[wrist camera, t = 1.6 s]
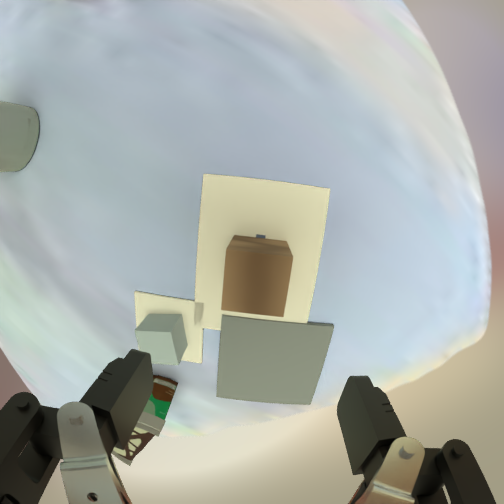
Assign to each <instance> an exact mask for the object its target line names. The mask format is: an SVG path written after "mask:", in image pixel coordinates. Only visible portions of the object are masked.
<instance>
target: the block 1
mask: <svg viewBox="0 0 504 504" xmlns="http://www.w3.org/2000/svg"><path fill="white" fill-rule="evenodd" d="M135 334H136V338H137V341H138V345H139V348H140V351H143V352H147V353H150V355H151V363H153V364H166V365H179V363H180V361H181V359H182V357H183V354H184V352H185V350H186V348H187V346H188V344H187V339H186V334H185V329H184V323H183V318H182V314H148V315H147V316H146V317H145V319H144V320H143V321H142V322H141V323H140V325H139V326H138V327H137V328H136V329H135Z"/></svg>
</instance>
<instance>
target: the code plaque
mask: <svg viewBox="0 0 504 504" xmlns="http://www.w3.org/2000/svg"><path fill="white" fill-rule="evenodd" d="M329 195H330V189H328V188H322V187H315V186H309V185H302V184H295V183H287V182H280V181H272V180H264V179H255V178H245V177H235V176H225V175H213V174H204V175H203V185H202V196H201V207H200V218H199V231H198V246H197V262H196V281H195V302H196V303H197V304H199V305H197V304H196V303H195V304H196V305H197V306H196V305H195V307H196V308H195V307H194V311H195V312H197V313H196V314H197V315H195V316H194V327H200V328H207V329H214V330H221V320H222V314H223V315H231V316H239V317H247V318H256V319H265V320H274V321H284V322H295V323H307V321H308V317H309V312H310V307H311V302H312V298H313V293H314V287H315V282H316V277H317V272H318V266H319V260H320V255H321V249H322V243H323V237H324V230H325V224H326V217H327V210H328V203H329ZM234 235H240V236H249V237H257V238H266V239H274V240H282V241H287V243H288V245H289V248H290V250H291V253H292V255H293V263H292V269H291V275H290V282H289V288H288V294H287V300H286V305H285V311H284V317H276V316H266V315H257V314H249V313H240V312H232V311H225V310H221V304H222V291H223V279H224V267H225V256H226V248H227V247H228V245H229V243H230V241H231V240H232V238H233V236H234ZM202 303H204V304H202ZM200 304H201V305H200ZM203 305H204V306H203ZM198 306H199V307H198ZM197 307H198V308H197ZM200 307H202V309H204V310H199V309H200ZM203 307H204V308H203ZM196 309H197V311H196ZM198 310H199V312H201V311H204V312H202V314H201V313H200V314H201V315H202V316H203V317H202V316H201V315H200V314H199V312H198ZM194 314H195V313H194ZM200 316H201V317H200ZM196 317H197V318H196ZM198 317H199V318H198ZM195 318H196V319H197V320H198V321H196V319H195ZM201 318H202V319H201ZM200 319H201V320H200ZM199 320H200V321H199ZM195 321H196V322H197V323H196V322H195ZM201 323H202V324H201ZM195 324H196V325H195ZM198 325H200V326H198ZM201 325H203V326H201Z"/></svg>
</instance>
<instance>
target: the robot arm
mask: <svg viewBox="0 0 504 504" xmlns="http://www.w3.org/2000/svg"><path fill="white" fill-rule="evenodd" d="M38 135H39V119H38V115H37V113H36V111H35V110H34V109H33V108H31V107H27V106H22V105H18V104H13V103H8V102H3V101H0V172H13V171H19V170H21V169H22V168H24V167H25V166H26V164H27V163H28V162H29V160H30V159H31V157H32V155H33V152H34V150H35V147H36V144H37V140H38ZM153 383H154V381H153V372H152V363H151V355H150V353H147V352H143V351H139V350H135V349H131V350H130V351H129V353H128V354H127V355H126V357H125V358H124V359H122V358H117V359H115V360H114V361H112V362H110V363H109V364H108V365H107V366H106V368H105V369H104V370H103V373H101V374H100V375H99V376H98V379H96V380H95V382H94V383H93V384H92V386H91V387H90V388H89V389H88V391H87V392H86V393H85V395H84V396H83V397H82V399H81V400H80V401H79V402H69V403H66V404H64V405H63V406H62V407H61V408H60V409H58V408H52V407H47V406H42V405H40V403H39V401H38V399H37V398H36V396H34V395H33V394H31V393H28V392H21V393H17V394H15V395H14V396H13V397H11V398H10V400H9V401H8V402H7V403H6V404H5V405H4V407H3V408H2V409H1V410H0V504H38V502H39V500H40V498H41V496H42V494H43V492H44V490H45V488H46V486H47V484H48V482H49V480H50V478H51V476H52V474H53V472H54V470H55V468H56V466H57V465H58V463H59V461H60V459H63V460H64V462H61V463H60V470H61V475H62V479H63V483H64V487H65V491H66V495H67V498H68V502H69V504H132V502H131V500H130V498H129V497H128V495H127V493H126V490H125V488H124V486H123V483H122V481H121V479H120V476H119V474H118V471H117V469H116V466H115V463H114V461H113V458H112V456H111V453H112V451H113V449H114V447H115V448H118V449H121V450H124V449H125V447H126V445H127V443H128V441H129V439H130V437H131V434H132V432H133V430H134V428H135V426H136V424H137V422H138V420H139V418H140V416H141V414H142V412H143V410H144V408H145V406H146V404H147V402H148V400H149V398H150V396H151V394H152V390H153ZM337 416H338V419H339V423H340V427H341V430H342V434H343V438H344V442H345V445H346V449H347V453H348V457H349V460H350V465H351V469H352V473H353V475H357V474H363V475H364V480H363V481H362V482H361V484H360V486H359V487H358V489H357V490H356V492H355V494H354V495H353V497H352V499H351V500H350V502H349V503H348V504H448V502H447V499H446V496H445V493H444V491H443V488H442V487H443V486H444V485H445V486H446V489H447V492H448V495H449V497H450V500H451V504H496V502H495V500H494V497H493V495H492V493H491V491H490V488H489V486H488V484H487V482H486V480H485V477H484V475H483V473H482V471H481V469H480V467H479V465H478V463H477V461H476V459H475V457H474V455H473V453H472V452H471V450H470V448H469V446H468V445H467V444H466V443H465V442H463V441H461V440H458V439H453V440H449V441H447V442H446V443H445V445H444V446H443V447H442V448H441V449H439V448H424V447H423V445H422V444H421V443H420V442H419V441H417V440H416V439H414V438H411V437H407V436H406V434H405V432H404V430H403V428H402V425H401V423H400V421H399V419H398V417H397V415H396V413H395V412H394V409H393V407H392V405H390V401H389V399H388V397H387V395H386V394H385V393H384V392H383V391H382V390H381V389H380V388H378V387H374V386H373V384H372V382H371V380H370V378H369V377H368V376H350V377H349V378H348V380H347V382H346V385H345V387H344V390H343V392H342V395H341V397H340V400H339V402H338V406H337ZM28 441H29V442H28ZM26 444H27V445H26ZM24 447H25V448H24ZM22 450H23V451H22ZM21 452H22V453H21ZM19 455H20V456H19Z"/></svg>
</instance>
